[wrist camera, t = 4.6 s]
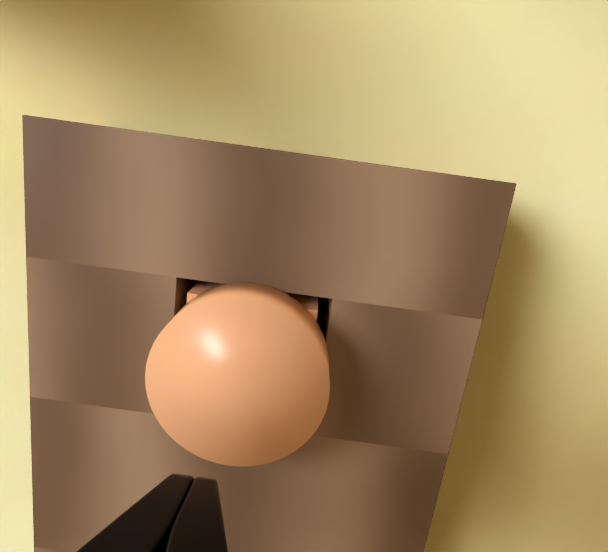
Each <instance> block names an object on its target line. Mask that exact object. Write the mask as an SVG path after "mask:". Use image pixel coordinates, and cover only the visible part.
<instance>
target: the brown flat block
mask: <svg viewBox="0 0 608 552" xmlns="http://www.w3.org/2000/svg"><path fill="white" fill-rule="evenodd" d="M22 117H23V154H24V191H25V228H26V265H27V302H28V339H29V376H30V413H31V450H32V487H33V524H34V552H76V551H77V550H78V549H80V548H81V547H82V546H83V545H85V544H86V543H87V542H88V541H90V540H91V539H92V538H93V537H94V536H96V535H97V534H98V533H99V532H101V531H102V530H103V529H104V528H105V527H107V526H108V525H109V524H110V523H112V522H113V521H114V520H115V519H116V518H118V517H119V516H120V515H121V514H123V513H124V512H125V511H126V510H127V509H129V508H130V507H131V506H132V505H134V504H135V503H136V502H137V501H139V500H140V499H141V498H142V497H143V496H145V495H146V494H147V493H148V492H150V491H151V490H152V489H153V488H154V487H156V486H157V485H158V484H159V483H161V482H162V481H163V480H164V479H165V478H167V477H168V476H169V475H171V474H173V473H179V474H187V475H192V476H193V477H194V478H195V477H197V476H202V477H209V478H215V479H216V480H217V483H218V489H219V496H220V502H221V509H222V515H223V521H224V528H225V534H226V541H227V547H228V552H423V551H424V547H425V544H426V540H427V536H428V532H429V528H430V524H431V520H432V516H433V512H434V508H435V504H436V500H437V496H438V492H439V488H440V484H441V480H442V476H443V472H444V468H445V464H446V460H447V457H448V453H449V449H450V445H451V441H452V437H453V433H454V429H455V425H456V421H457V417H458V413H459V409H460V405H461V401H462V397H463V393H464V389H465V385H466V381H467V377H468V373H469V369H470V366H471V362H472V358H473V354H474V350H475V346H476V342H477V338H478V334H479V330H480V326H481V322H482V318H483V314H484V310H485V306H486V302H487V298H488V294H489V290H490V286H491V282H492V278H493V275H494V271H495V267H496V263H497V259H498V255H499V251H500V247H501V243H502V239H503V235H504V231H505V227H506V223H507V219H508V215H509V211H510V207H511V203H512V199H513V195H514V191H515V187H516V184H515V183H508V182H501V181H494V180H487V179H479V178H472V177H465V176H458V175H451V174H444V173H436V172H429V171H422V170H415V169H408V168H401V167H393V166H386V165H379V164H372V163H365V162H357V161H350V160H343V159H336V158H329V157H322V156H314V155H307V154H300V153H293V152H286V151H278V150H271V149H264V148H257V147H250V146H243V145H235V144H228V143H221V142H214V141H207V140H200V139H192V138H185V137H178V136H171V135H164V134H156V133H149V132H142V131H135V130H128V129H121V128H113V127H106V126H99V125H92V124H85V123H77V122H70V121H63V120H56V119H49V118H42V117H34V116H27V115H22ZM199 280H200V281H207V282H214V283H221V284H229V283H240V282H246V283H256V284H261V285H266V286H269V287H272V288H275V289H278V290H280V291H282V292H287V293H294V294H301V295H308V296H316V297H318V314H317V320H316V322H317V323H318V325H319V327H320V329H321V331H322V333H323V335H324V338H325V341H326V345H327V350H328V360H329V380H330V394H329V401H328V406H327V410H326V412H325V415H324V417H323V420H322V422H321V423H320V425H319V427H318V429H317V430H316V431H315V433H314V434H313V435H312V436H311V438H310V439H309V440H308V441H307V442H306V443H305V444H304V445H303V446H301V447H300V448H298V449H297V450H296V451H294V452H293V453H291V454H289V455H287V456H286V457H284V458H281V459H279V460H276V461H274V462H270V463H267V464H263V465H256V466H243V467H239V466H228V465H223V464H217V463H214V462H211V461H208V460H205V459H203V458H201V457H198V456H196V455H194V454H193V453H191V452H189V451H187V450H186V449H184V448H183V447H182V446H180V445H179V444H178V443H176V442H175V441H174V440H173V439H172V438H171V437H170V436H169V435H168V434H167V433H166V431H165V430H164V429H163V428H162V427H161V425H160V424H159V422H158V420H157V419H156V417H155V415H154V413H153V411H152V409H151V407H150V404H149V400H148V397H147V392H146V386H145V371H146V363H147V359H148V356H149V352H150V350H151V348H152V345H153V343H154V341H155V340H156V338H157V337H158V335H159V334H160V332H161V331H162V330H163V329H164V328H165V326H166V325H167V324H168V323H169V322H170V321H171V320H172V319H173V318H174V316H175V315H176V314H177V313H178V312H179V311H180V310H181V309H182V308H183V307H184V305H186V304H187V293H188V292H189V291H190V290H191V289H192V288H193V287H194V286H195V285H196V283H197V282H198V281H199Z"/></svg>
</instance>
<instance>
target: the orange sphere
mask: <svg viewBox="0 0 608 552" xmlns="http://www.w3.org/2000/svg"><path fill="white" fill-rule="evenodd" d="M317 314H318V297H316V296H308V295H301V294H294V293H287V292H282V291H280V290H278V289H275V288H272V287H269V286H266V285H261V284H256V283H246V282H240V283H229V284H221V283H214V282H207V281H200V280H199V281H198V282H197V283H196V285H195V286H194V287H193V288H192V289H191V290H190V291H189V292H188V293H187V304H186V305H184V307H183V308H182V309H181V310H180V311H179V312H178V313H177V314H176V315H175V316H174V318H173V319H172V320H171V321H170V322H169V323H168V324H167V325H166V326H165V328H164V329H163V330H162V331H161V332H160V334H159V335H158V337H157V338H156V340H155V341H154V343H153V345H152V348H151V350H150V352H149V356H148V359H147V363H146V371H145V386H146V392H147V397H148V400H149V404H150V407H151V409H152V411H153V413H154V415H155V417H156V419H157V420H158V422H159V424H160V425H161V427H162V428H163V429H164V430H165V431H166V433H167V434H168V435H169V436H170V437H171V438H172V439H173V440H174V441H175V442H176V443H178V444H179V445H180V446H182V447H183V448H184V449H186V450H187V451H189V452H191V453H193V454H194V455H196V456H198V457H201V458H203V459H205V460H208V461H211V462H214V463H217V464H223V465H228V466H239V467H243V466H256V465H263V464H267V463H270V462H274V461H276V460H279V459H281V458H284V457H286V456H287V455H289V454H291V453H293V452H294V451H296V450H297V449H298V448H300V447H301V446H303V445H304V444H305V443H306V442H307V441H308V440H309V439H310V438H311V436H312V435H313V434H314V433H315V431H316V430H317V429H318V427H319V425H320V423H321V422H322V420H323V417H324V415H325V412H326V410H327V406H328V401H329V394H330V380H329V360H328V350H327V345H326V341H325V338H324V335H323V333H322V331H321V329H320V327H319V325H318V323H317V322H316V320H317Z"/></svg>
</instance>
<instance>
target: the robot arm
mask: <svg viewBox="0 0 608 552" xmlns="http://www.w3.org/2000/svg"><path fill="white" fill-rule="evenodd" d="M76 552H228V547H227V541H226V534H225V528H224V521H223V515H222V509H221V502H220V496H219V489H218V483H217V480H216V479H215V478H209V477H202V476H197V477H195V478H194V477H193V476H192V475H187V474H179V473H173V474H171V475H169V476H168V477H167V478H165V479H164V480H163V481H162V482H161V483H159V484H158V485H157V486H156V487H154V488H153V489H152V490H151V491H150V492H148V493H147V494H146V495H145V496H143V497H142V498H141V499H140V500H139V501H137V502H136V503H135V504H134V505H132V506H131V507H130V508H129V509H127V510H126V511H125V512H124V513H123V514H121V515H120V516H119V517H118V518H116V519H115V520H114V521H113V522H112V523H110V524H109V525H108V526H107V527H105V528H104V529H103V530H102V531H101V532H99V533H98V534H97V535H96V536H94V537H93V538H92V539H91V540H90V541H88V542H87V543H86V544H85V545H83V546H82V547H81V548H80V549H78V550H77V551H76Z"/></svg>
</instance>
